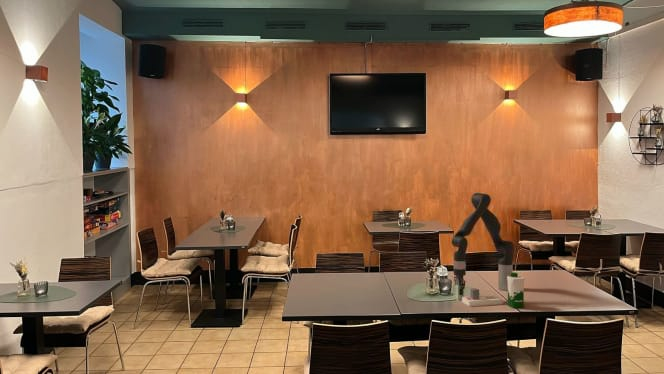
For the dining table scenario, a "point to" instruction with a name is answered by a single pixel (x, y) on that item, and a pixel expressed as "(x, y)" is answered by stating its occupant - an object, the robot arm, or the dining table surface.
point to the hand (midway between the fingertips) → (459, 294)
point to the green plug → (458, 297)
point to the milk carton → (515, 290)
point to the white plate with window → (481, 299)
